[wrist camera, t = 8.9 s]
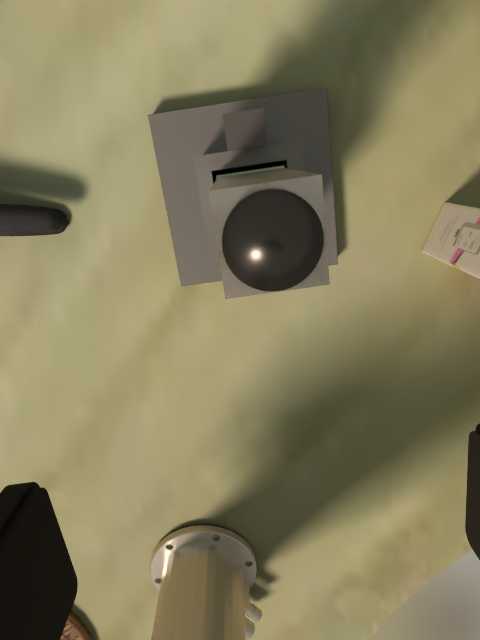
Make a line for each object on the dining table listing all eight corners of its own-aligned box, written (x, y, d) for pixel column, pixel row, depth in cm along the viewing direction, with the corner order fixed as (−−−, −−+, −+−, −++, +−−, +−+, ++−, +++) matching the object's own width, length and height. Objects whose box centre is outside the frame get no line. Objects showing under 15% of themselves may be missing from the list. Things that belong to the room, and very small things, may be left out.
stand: (334, 260, 40) (371, 297, 29) (183, 281, 40) (166, 325, 30) (323, 90, 35) (362, 60, 24) (151, 116, 35) (117, 99, 25)
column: (284, 225, 32) (335, 290, 16) (226, 233, 32) (223, 306, 16) (277, 164, 30) (328, 171, 15) (217, 173, 30) (204, 189, 15)
